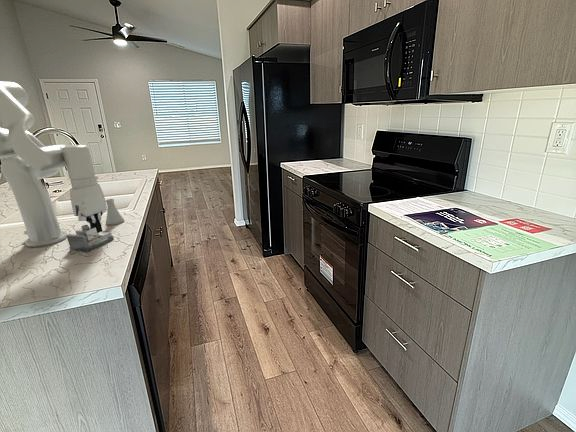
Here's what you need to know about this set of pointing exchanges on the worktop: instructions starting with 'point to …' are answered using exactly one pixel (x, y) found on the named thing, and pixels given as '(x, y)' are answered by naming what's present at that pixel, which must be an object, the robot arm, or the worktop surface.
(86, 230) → the knobbed grey cube
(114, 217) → the flask
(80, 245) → the base
